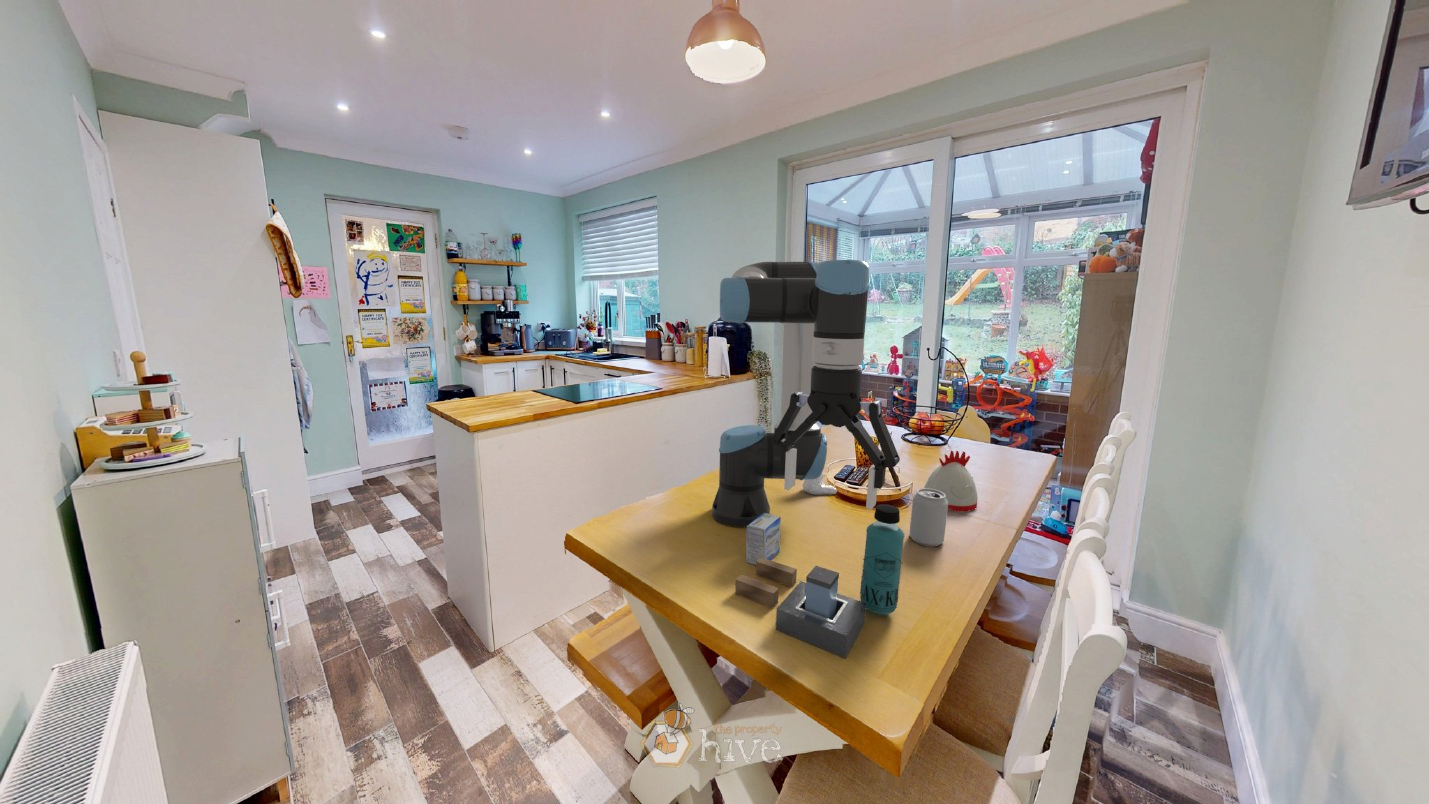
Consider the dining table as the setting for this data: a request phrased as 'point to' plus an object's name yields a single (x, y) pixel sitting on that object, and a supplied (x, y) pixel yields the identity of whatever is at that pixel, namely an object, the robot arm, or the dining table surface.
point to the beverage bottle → (882, 561)
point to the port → (821, 622)
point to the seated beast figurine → (818, 486)
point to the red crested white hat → (954, 482)
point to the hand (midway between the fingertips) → (828, 496)
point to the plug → (822, 592)
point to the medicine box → (763, 538)
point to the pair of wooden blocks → (761, 590)
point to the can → (928, 517)
